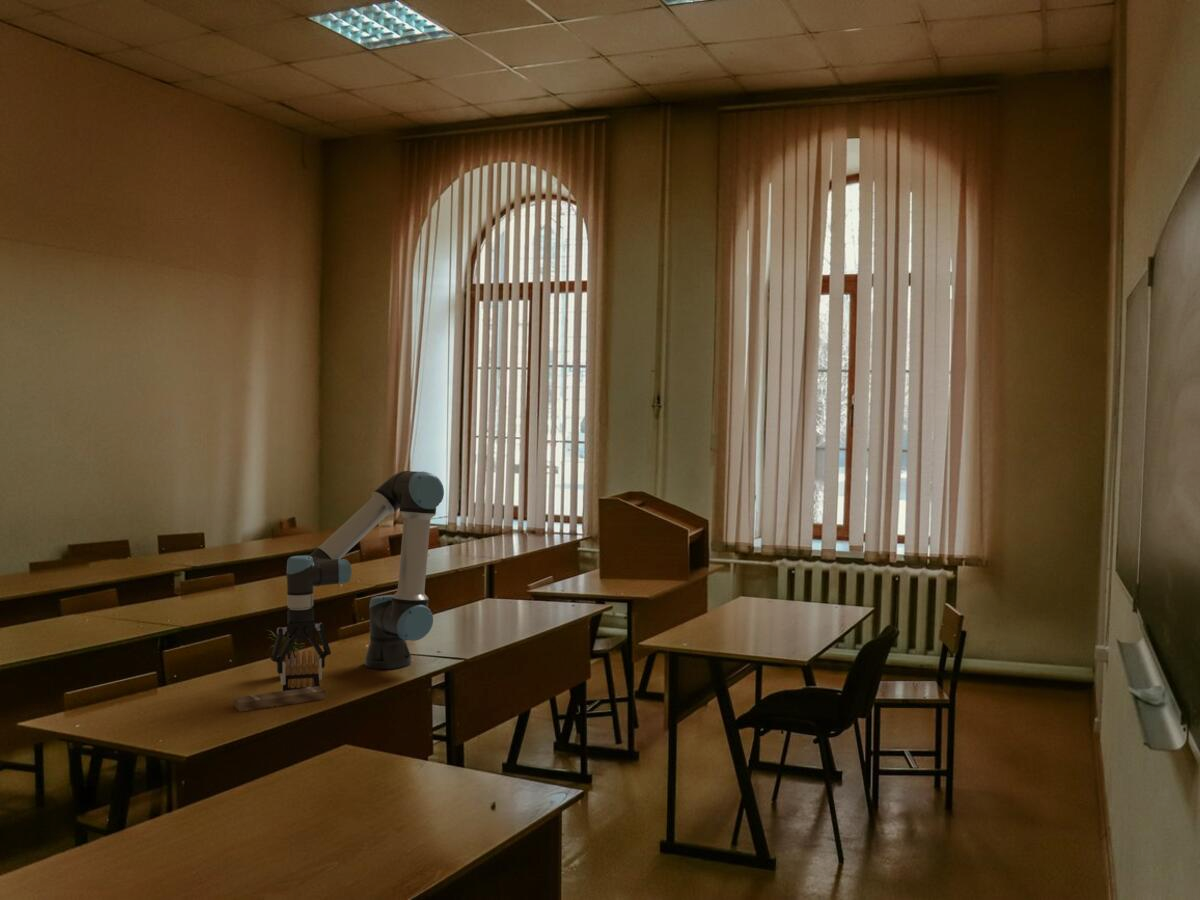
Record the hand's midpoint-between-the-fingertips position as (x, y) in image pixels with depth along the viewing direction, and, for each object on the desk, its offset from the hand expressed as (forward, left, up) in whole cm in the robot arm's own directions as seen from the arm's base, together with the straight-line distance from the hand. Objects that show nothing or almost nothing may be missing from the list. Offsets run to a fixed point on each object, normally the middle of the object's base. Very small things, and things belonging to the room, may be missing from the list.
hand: (301, 681), depth 308 cm
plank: (+9, +10, -3) cm, 14 cm away
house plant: (0, -20, -3) cm, 21 cm away
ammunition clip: (0, 0, -3) cm, 3 cm away
